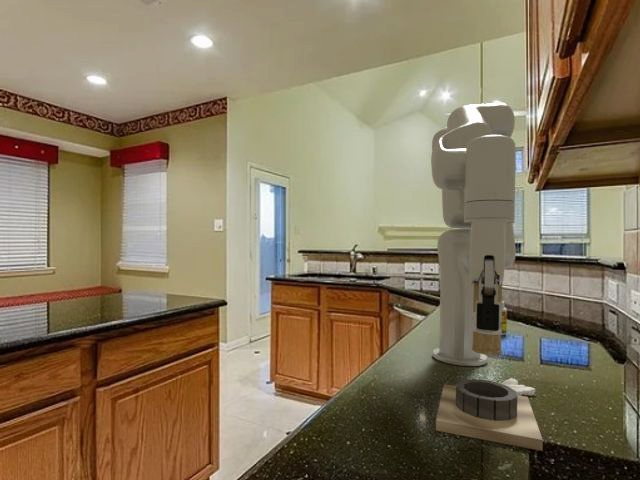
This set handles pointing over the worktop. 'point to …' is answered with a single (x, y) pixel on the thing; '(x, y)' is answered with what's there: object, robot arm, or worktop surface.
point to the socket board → (488, 414)
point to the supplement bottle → (504, 319)
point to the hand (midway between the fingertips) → (487, 325)
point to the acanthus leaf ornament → (519, 387)
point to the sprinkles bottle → (486, 339)
